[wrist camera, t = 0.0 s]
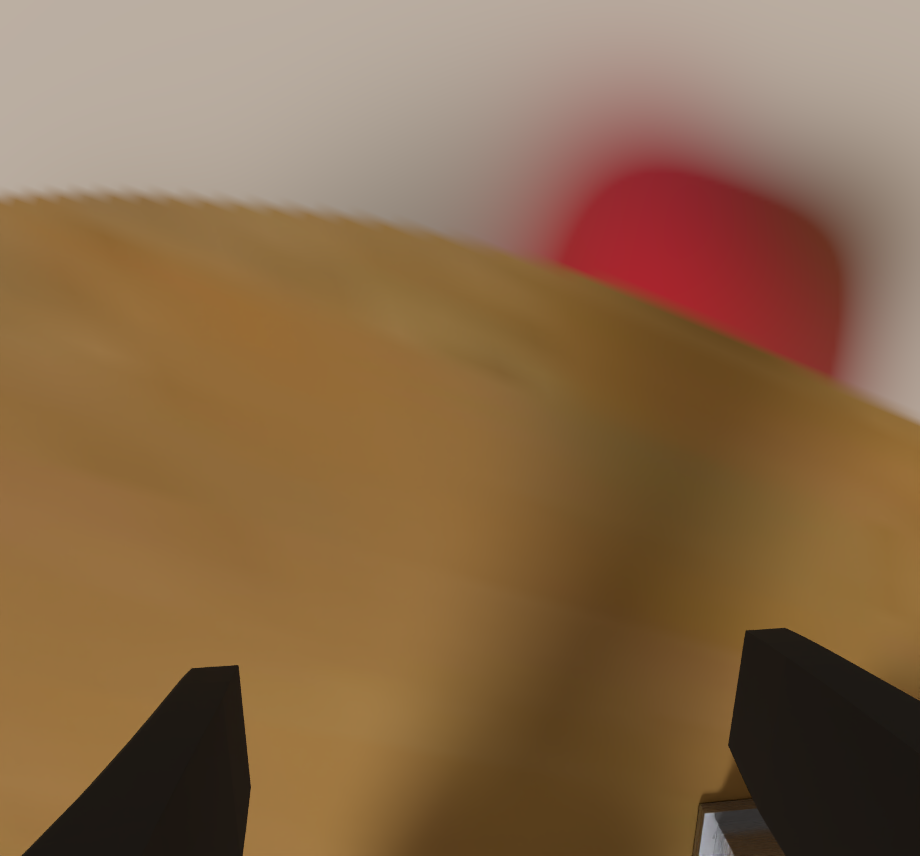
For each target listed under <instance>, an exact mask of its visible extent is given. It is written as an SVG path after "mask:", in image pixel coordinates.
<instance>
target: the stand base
mask: <svg viewBox="0 0 920 856" xmlns="http://www.w3.org/2000/svg"><path fill="white" fill-rule="evenodd" d="M692 856H785V854H784V853H783V851H782V849H781V848H780V846H779V844H778V843H777V841H776V840H775V838H774V836H773V835H772V833H771V831H770V830H769V828H768V826H767V825H766V823H765V821H764V820H763V818H762V816H761V815H760V813H759V811H758V809H757V807H756V805H755V803H754V801H753V799H745V800H735V801H725V802H715V803H705V804H700V805H699V812H698V820H697V827H696V834H695V841H694V848H693V855H692Z"/></svg>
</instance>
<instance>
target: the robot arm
mask: <svg viewBox="0 0 920 856" xmlns="http://www.w3.org/2000/svg"><path fill="white" fill-rule="evenodd" d="M728 746H729V748H730V750H731V753H732V755H733V757H734V759H735V762H736V764H737V766H738V768H739V771H740V773H741V775H742V777H743V780H744V782H745V784H746V786H747V788H748V790H749V792H750V794H751V796H752V799H753V801H754V803H755V805H756V807H757V809H758V811H759V813H760V815H761V816H762V818H763V820H764V821H765V823H766V825H767V826H768V828H769V830H770V831H771V833H772V835H773V836H774V838H775V840H776V841H777V843H778V844H779V846H780V848H781V849H782V851H783V853H784V854H785V856H920V701H919V700H917V699H915V698H914V697H912V696H910V695H908V694H906V693H905V692H903V691H901V690H899V689H897V688H896V687H894V686H892V685H890V684H889V683H887V682H885V681H883V680H881V679H880V678H878V677H876V676H874V675H873V674H871V673H869V672H867V671H865V670H864V669H862V668H860V667H858V666H857V665H855V664H853V663H851V662H849V661H848V660H846V659H844V658H842V657H841V656H839V655H837V654H835V653H833V652H831V651H830V650H828V649H826V648H824V647H822V646H820V645H819V644H817V643H815V642H813V641H811V640H809V639H807V638H805V637H803V636H801V635H799V634H797V633H795V632H793V631H791V630H788V629H786V628H777V629H762V630H748V631H746V632H745V638H744V645H743V651H742V658H741V665H740V671H739V678H738V684H737V691H736V698H735V704H734V711H733V717H732V724H731V730H730V737H729V744H728ZM250 789H251V785H250V775H249V765H248V755H247V745H246V735H245V726H244V716H243V706H242V696H241V686H240V676H239V667H238V665H234V666H220V667H205V668H192V669H191V670H190V671H189V672H188V673H187V674H186V675H185V676H184V677H183V678H182V679H181V680H180V681H179V682H178V684H177V685H176V686H175V687H174V688H173V690H172V691H171V692H170V693H169V694H168V696H167V697H166V698H165V699H164V701H163V702H162V703H161V704H160V705H159V707H158V708H157V709H156V710H155V711H154V713H153V714H152V715H151V716H150V717H149V719H148V720H147V721H146V722H145V723H144V724H143V726H142V727H141V728H140V729H139V730H138V731H137V733H136V734H135V735H134V736H133V737H132V739H131V740H130V741H129V742H128V743H127V744H126V745H125V747H124V748H123V749H122V750H121V751H120V752H119V753H118V754H117V756H116V757H115V758H114V759H113V760H112V761H111V762H110V763H109V765H108V766H107V767H106V768H105V769H104V770H103V771H102V772H101V773H100V775H99V776H98V777H97V778H96V779H95V780H94V781H93V782H92V784H91V785H90V786H89V787H88V788H87V789H86V790H85V791H84V792H83V793H82V794H81V795H80V797H79V798H78V799H77V800H76V801H75V802H74V803H73V804H72V805H71V806H70V807H69V808H68V809H67V810H66V811H65V812H64V813H63V814H62V815H61V816H60V817H59V818H58V819H57V820H56V821H55V822H54V823H53V824H52V825H51V826H50V827H49V828H48V829H47V830H46V831H45V832H44V833H43V834H42V836H41V837H40V838H39V839H38V840H37V841H36V842H35V843H34V844H33V845H32V846H31V847H30V848H29V849H28V850H27V851H26V852H25V853H24V854H23V855H22V856H243V848H244V840H245V832H246V824H247V815H248V807H249V798H250Z"/></svg>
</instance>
